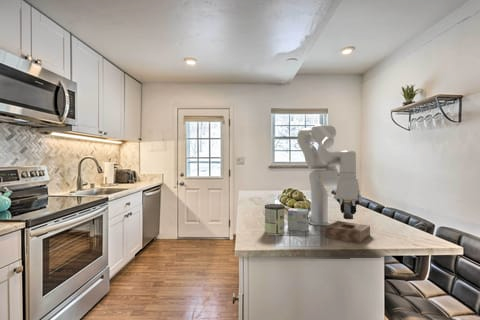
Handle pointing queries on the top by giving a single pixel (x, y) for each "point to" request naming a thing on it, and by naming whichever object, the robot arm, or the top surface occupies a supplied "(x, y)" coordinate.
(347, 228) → the socket
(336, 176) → the robot arm
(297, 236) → the top surface
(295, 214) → the light bulb box
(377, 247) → the top surface
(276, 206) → the coffee can
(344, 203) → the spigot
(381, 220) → the top surface
